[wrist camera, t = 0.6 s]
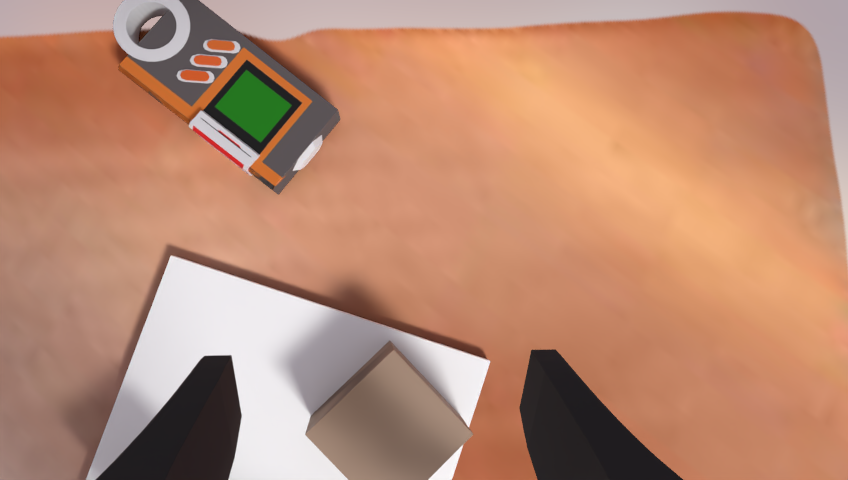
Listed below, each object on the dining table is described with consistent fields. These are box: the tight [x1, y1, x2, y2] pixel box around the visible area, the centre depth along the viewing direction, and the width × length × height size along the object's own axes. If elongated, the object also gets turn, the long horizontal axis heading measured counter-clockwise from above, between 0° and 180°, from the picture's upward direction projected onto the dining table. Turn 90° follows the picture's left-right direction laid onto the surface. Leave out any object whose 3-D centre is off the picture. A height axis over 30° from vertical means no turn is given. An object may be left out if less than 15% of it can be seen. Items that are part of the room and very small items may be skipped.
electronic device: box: [113, 0, 340, 195], centre depth 36 cm, size 7×3×15 cm
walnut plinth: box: [305, 341, 473, 480], centre depth 34 cm, size 7×7×4 cm
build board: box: [86, 255, 490, 480], centre depth 36 cm, size 18×22×1 cm
